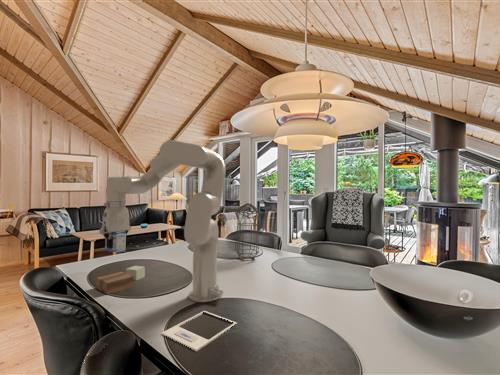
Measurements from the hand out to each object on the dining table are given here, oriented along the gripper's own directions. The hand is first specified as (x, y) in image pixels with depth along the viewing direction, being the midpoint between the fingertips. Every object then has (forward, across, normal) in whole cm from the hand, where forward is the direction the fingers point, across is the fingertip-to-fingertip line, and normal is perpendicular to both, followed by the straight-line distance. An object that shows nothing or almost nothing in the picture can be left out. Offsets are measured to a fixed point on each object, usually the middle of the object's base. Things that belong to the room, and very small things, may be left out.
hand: (115, 246), depth 118 cm
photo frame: (+19, -6, -55) cm, 58 cm away
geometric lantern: (+18, +74, -22) cm, 79 cm away
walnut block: (+18, 0, 0) cm, 18 cm away
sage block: (+18, +13, +4) cm, 23 cm away
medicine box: (+2, 0, 0) cm, 2 cm away
